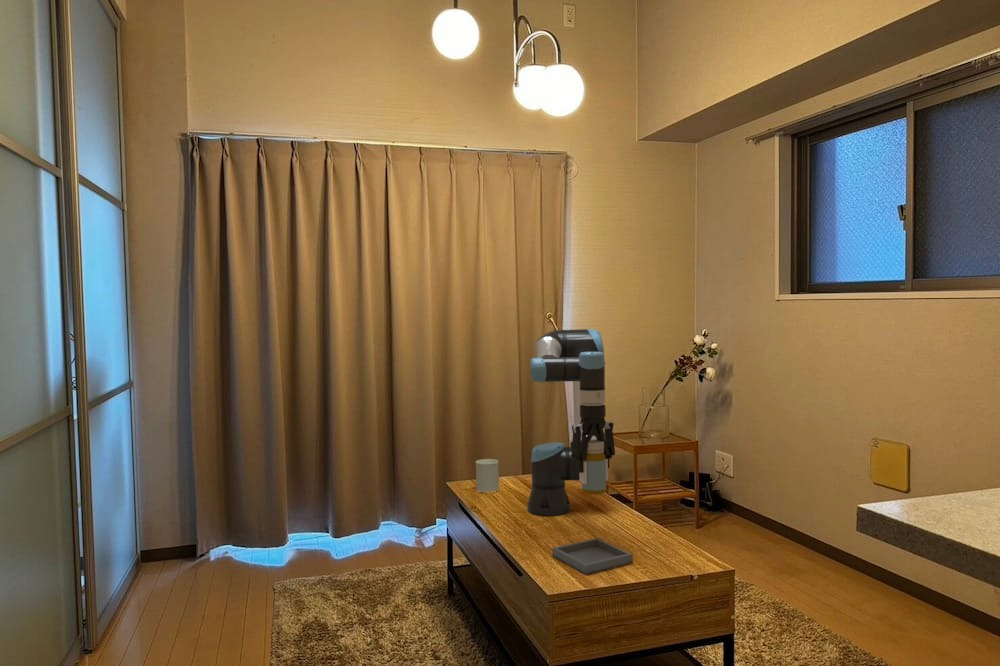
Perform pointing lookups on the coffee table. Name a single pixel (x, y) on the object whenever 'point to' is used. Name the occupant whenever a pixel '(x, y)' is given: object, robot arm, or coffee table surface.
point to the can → (487, 475)
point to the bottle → (595, 468)
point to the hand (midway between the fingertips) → (593, 481)
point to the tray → (592, 556)
